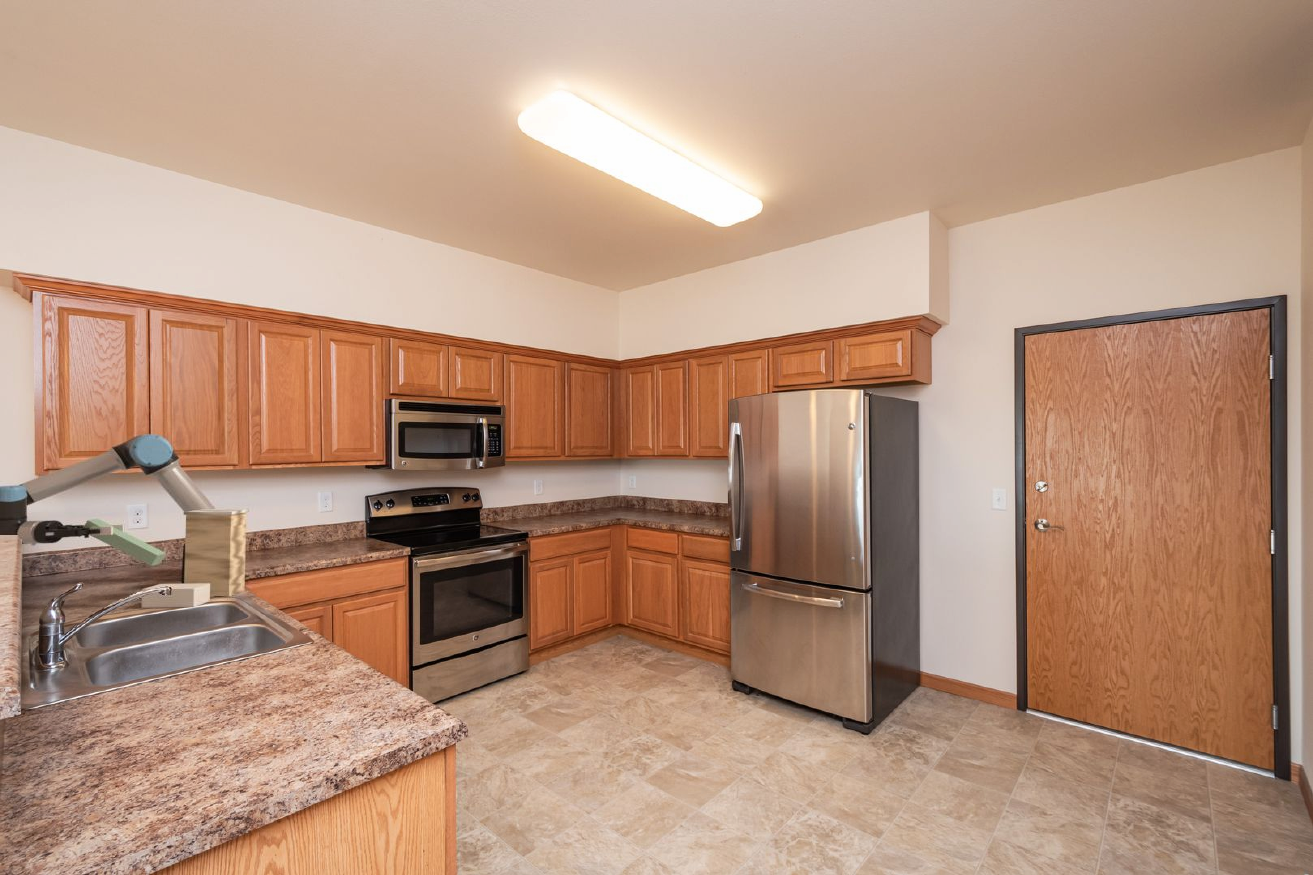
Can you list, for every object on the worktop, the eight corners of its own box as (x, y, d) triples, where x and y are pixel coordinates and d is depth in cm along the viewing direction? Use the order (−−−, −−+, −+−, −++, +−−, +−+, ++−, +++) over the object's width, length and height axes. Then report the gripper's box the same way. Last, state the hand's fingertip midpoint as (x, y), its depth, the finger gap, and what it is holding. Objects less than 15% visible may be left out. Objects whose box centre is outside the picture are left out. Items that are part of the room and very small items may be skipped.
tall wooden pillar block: (200, 591, 217) (202, 509, 218) (246, 590, 218) (248, 509, 219) (181, 597, 207) (183, 511, 208) (229, 597, 208) (231, 511, 209)
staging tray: (159, 601, 202) (160, 583, 202) (209, 600, 203) (210, 583, 203) (141, 607, 194) (142, 589, 194) (193, 606, 195) (193, 588, 195)
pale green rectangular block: (91, 529, 200) (97, 518, 200) (160, 563, 202) (166, 553, 202) (81, 530, 196) (87, 520, 196) (151, 565, 198) (157, 555, 198)
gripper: (66, 539, 205) (138, 537, 207) (17, 547, 188) (96, 544, 190) (66, 517, 205) (137, 515, 207) (17, 524, 188) (95, 521, 190)
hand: (117, 529), depth 199 cm, fingers closed on pale green rectangular block, 4 cm apart
